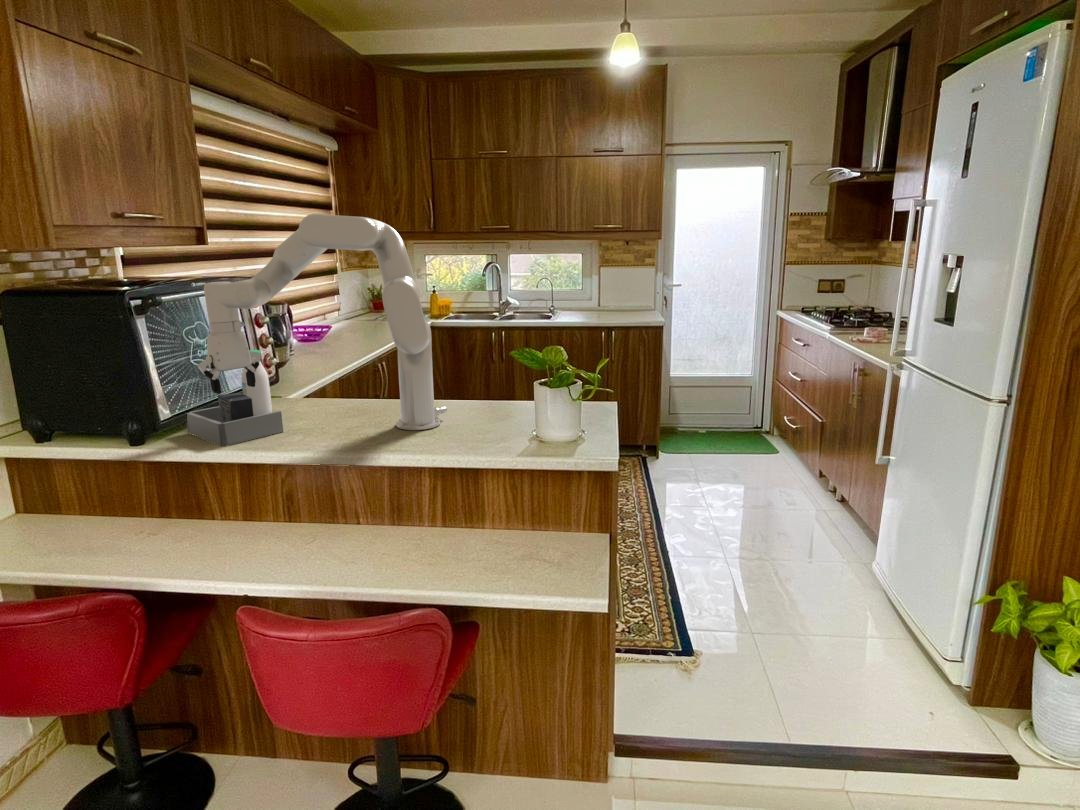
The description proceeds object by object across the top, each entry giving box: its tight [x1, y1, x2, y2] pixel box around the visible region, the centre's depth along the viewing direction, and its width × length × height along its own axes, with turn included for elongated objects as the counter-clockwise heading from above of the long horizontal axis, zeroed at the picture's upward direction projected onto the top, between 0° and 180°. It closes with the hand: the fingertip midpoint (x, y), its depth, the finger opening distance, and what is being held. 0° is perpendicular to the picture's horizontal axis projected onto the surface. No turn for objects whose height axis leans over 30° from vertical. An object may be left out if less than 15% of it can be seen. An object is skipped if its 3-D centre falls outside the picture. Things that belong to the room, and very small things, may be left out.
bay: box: [185, 405, 284, 447], centre depth 186 cm, size 17×20×6 cm
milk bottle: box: [241, 349, 273, 416], centre depth 204 cm, size 8×8×20 cm
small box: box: [217, 392, 253, 423], centre depth 186 cm, size 11×6×10 cm, turn 41°
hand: (234, 389), depth 185 cm, fingers open, 9 cm apart
